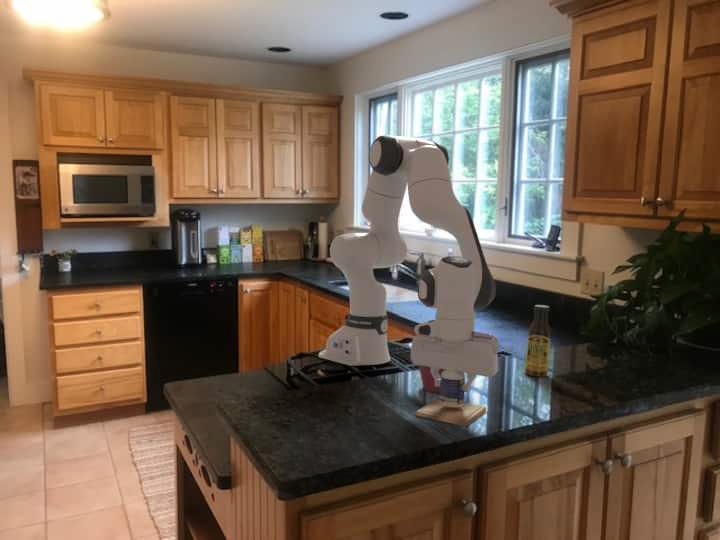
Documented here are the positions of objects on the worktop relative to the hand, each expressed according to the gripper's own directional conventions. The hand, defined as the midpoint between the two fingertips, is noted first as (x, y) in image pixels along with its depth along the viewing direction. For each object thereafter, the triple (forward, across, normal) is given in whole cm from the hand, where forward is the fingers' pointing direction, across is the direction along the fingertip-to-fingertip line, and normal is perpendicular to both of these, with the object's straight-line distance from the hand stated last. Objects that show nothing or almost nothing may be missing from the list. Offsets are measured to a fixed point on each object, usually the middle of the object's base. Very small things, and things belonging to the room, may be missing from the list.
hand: (452, 388), depth 137 cm
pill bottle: (+4, 0, 0) cm, 4 cm away
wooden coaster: (+6, 0, 0) cm, 6 cm away
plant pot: (+6, +10, -16) cm, 20 cm away
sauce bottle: (+6, -7, -44) cm, 45 cm away
